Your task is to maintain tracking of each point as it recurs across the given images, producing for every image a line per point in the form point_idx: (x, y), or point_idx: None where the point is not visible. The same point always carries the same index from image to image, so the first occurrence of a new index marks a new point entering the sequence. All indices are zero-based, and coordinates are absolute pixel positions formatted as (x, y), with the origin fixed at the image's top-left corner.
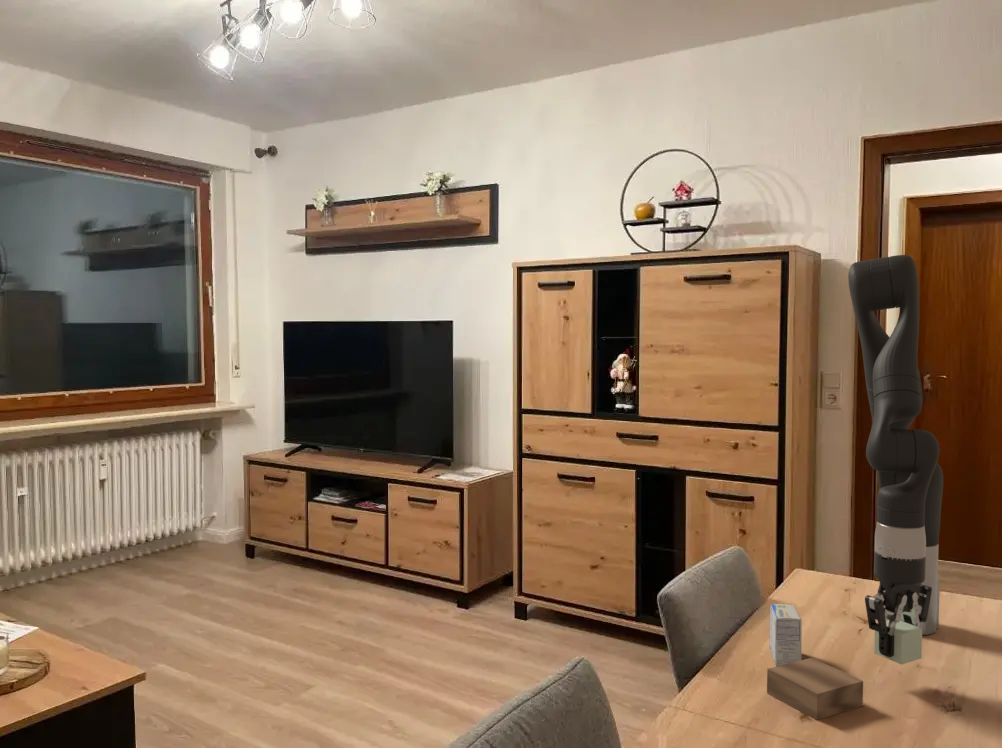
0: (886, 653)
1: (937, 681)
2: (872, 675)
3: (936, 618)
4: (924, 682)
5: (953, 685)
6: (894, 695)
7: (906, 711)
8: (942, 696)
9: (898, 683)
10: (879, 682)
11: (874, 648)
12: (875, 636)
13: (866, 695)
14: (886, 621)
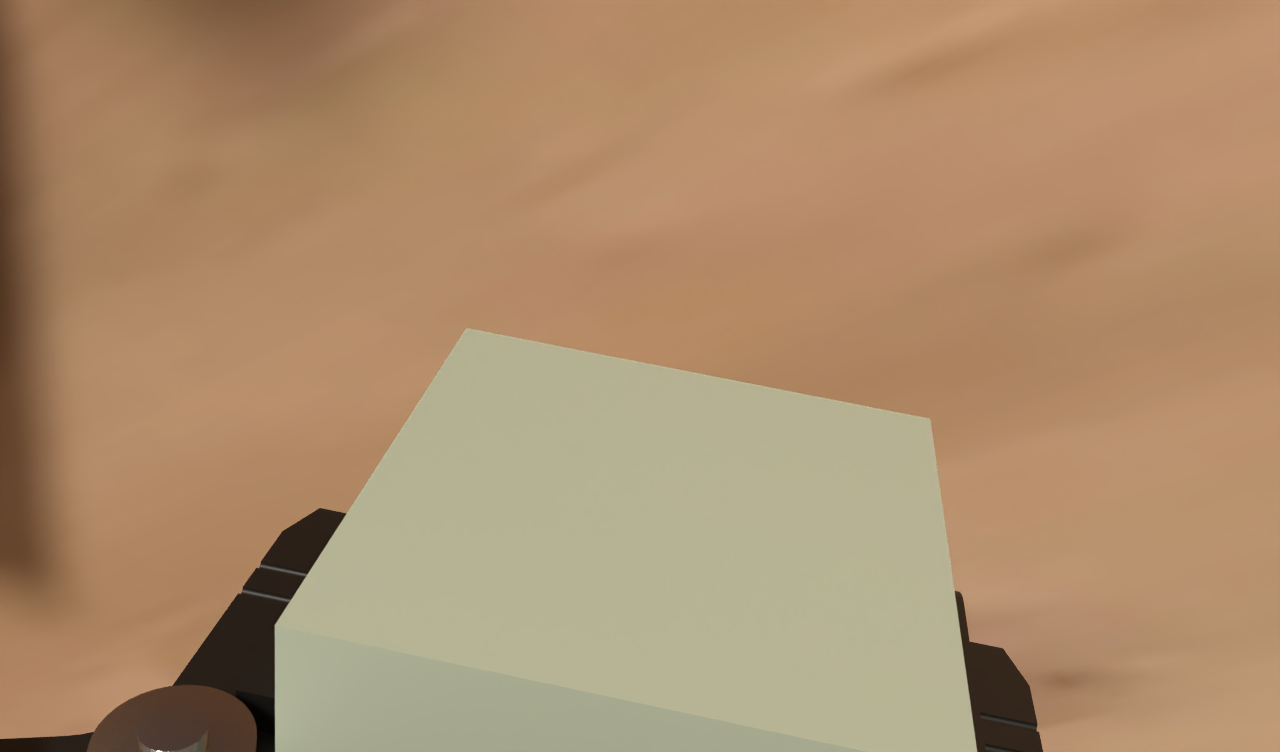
0: None
1: (1123, 578)
2: (717, 86)
3: None
4: (991, 512)
5: (1135, 692)
6: None
7: None
8: None
9: (745, 365)
10: (598, 231)
11: (442, 365)
12: (378, 483)
13: (198, 295)
14: (635, 723)
